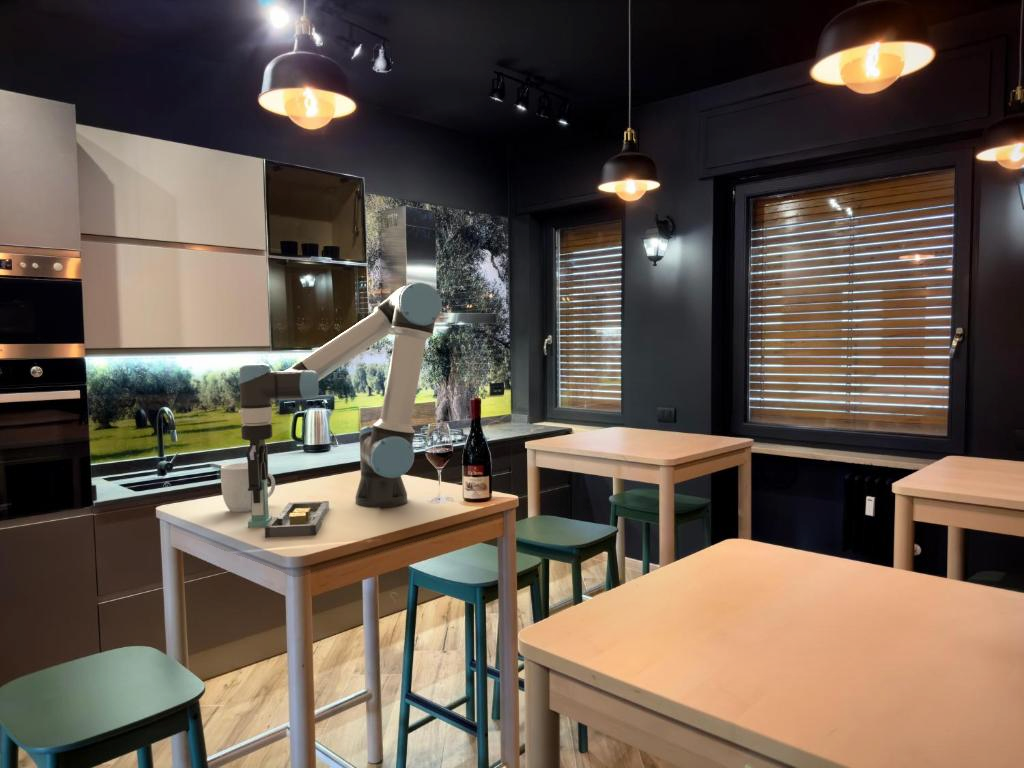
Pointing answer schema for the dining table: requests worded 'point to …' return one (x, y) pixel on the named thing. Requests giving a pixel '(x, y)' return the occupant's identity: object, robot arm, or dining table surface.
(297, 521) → the chip
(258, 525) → the teal t-shaped block
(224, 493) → the mug
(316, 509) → the dark gray shallow tray
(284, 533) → the tray
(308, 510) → the chip
